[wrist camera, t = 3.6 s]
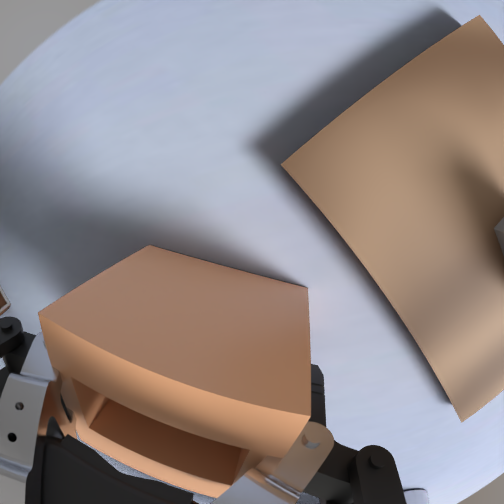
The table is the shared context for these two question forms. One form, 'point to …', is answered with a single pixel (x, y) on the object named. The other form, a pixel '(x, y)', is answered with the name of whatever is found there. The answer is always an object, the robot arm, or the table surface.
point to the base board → (427, 202)
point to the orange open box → (183, 366)
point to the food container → (3, 302)
